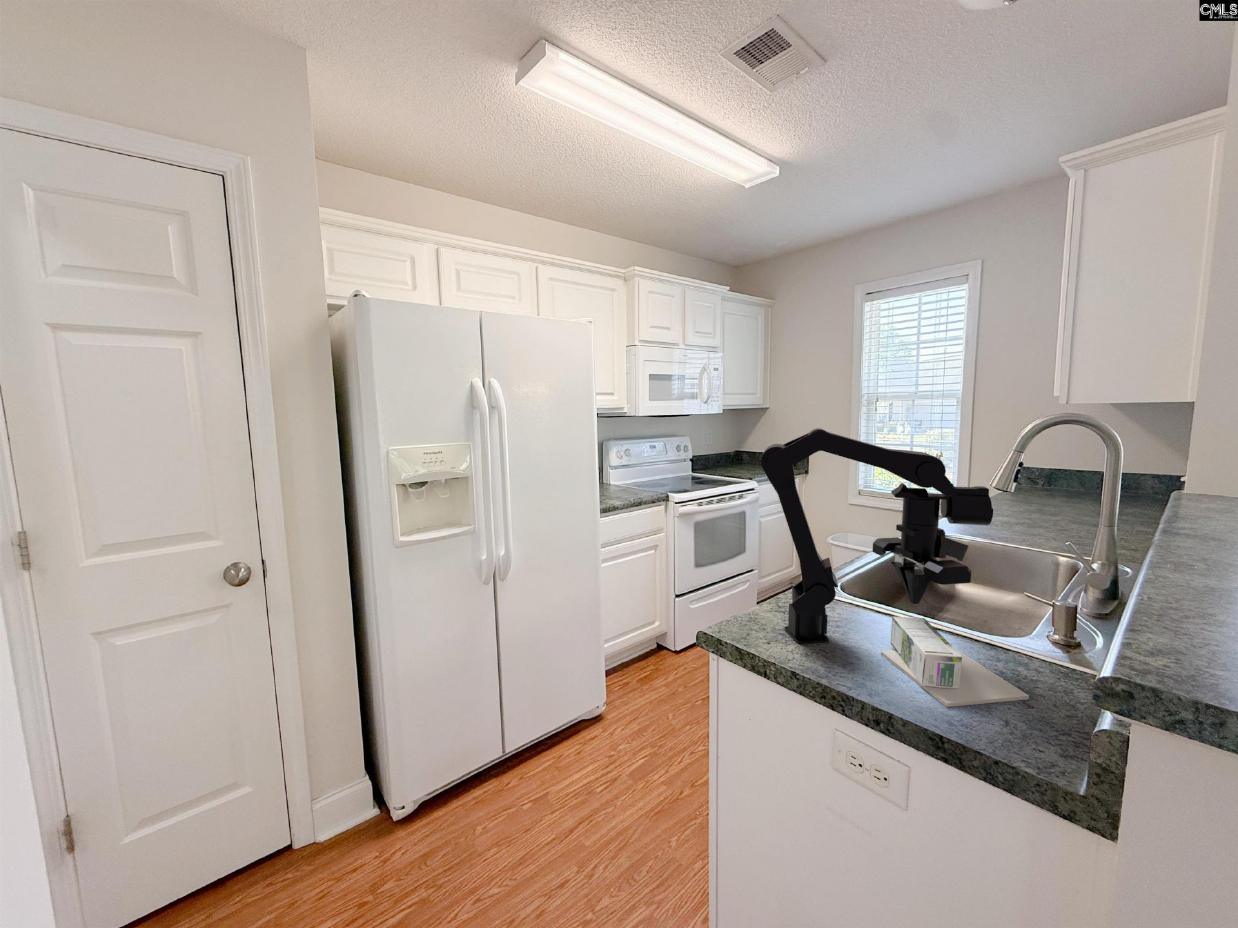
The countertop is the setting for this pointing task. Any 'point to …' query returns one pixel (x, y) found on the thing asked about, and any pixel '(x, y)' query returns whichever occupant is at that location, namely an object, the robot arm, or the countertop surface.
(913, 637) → the syrup box
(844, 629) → the countertop surface
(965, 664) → the rubber mat
